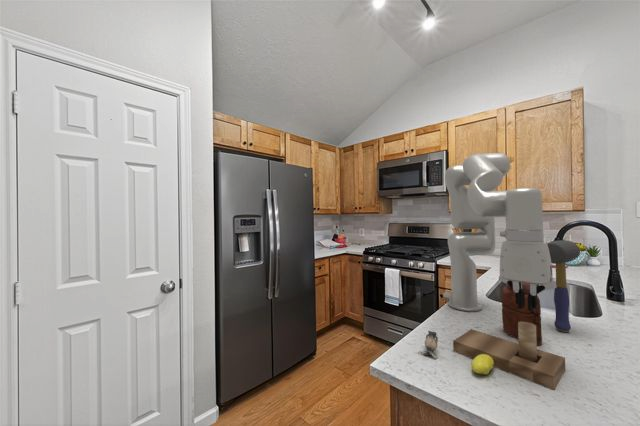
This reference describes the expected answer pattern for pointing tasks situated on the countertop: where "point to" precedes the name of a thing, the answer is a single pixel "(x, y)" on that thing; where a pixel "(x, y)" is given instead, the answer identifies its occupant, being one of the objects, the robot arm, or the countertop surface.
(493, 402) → the countertop surface
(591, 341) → the countertop surface
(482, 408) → the countertop surface
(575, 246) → the rubber mallet
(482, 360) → the lemon
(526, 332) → the dowel
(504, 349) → the board
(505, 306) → the wooden figurine
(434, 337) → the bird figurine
